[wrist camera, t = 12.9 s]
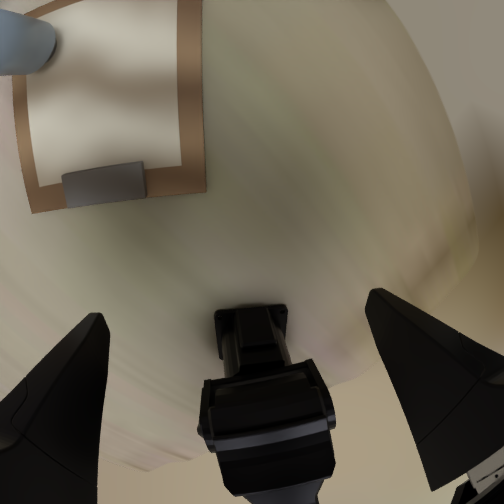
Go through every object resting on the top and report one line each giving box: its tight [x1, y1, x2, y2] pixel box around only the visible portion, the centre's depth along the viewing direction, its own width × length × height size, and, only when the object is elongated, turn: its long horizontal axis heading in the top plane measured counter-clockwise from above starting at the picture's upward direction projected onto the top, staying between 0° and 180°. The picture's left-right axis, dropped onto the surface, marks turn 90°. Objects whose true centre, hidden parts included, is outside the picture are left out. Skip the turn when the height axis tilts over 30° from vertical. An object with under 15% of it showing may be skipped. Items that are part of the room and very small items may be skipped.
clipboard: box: [12, 0, 206, 214], centre depth 14 cm, size 16×14×1 cm
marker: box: [0, 9, 57, 76], centre depth 7 cm, size 4×4×9 cm
